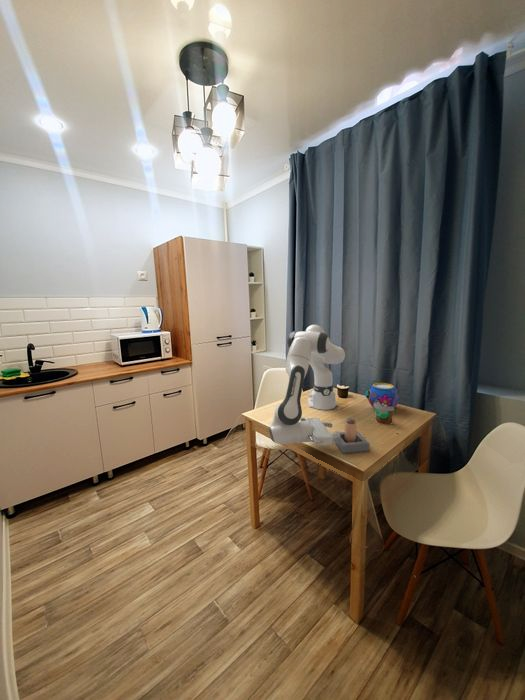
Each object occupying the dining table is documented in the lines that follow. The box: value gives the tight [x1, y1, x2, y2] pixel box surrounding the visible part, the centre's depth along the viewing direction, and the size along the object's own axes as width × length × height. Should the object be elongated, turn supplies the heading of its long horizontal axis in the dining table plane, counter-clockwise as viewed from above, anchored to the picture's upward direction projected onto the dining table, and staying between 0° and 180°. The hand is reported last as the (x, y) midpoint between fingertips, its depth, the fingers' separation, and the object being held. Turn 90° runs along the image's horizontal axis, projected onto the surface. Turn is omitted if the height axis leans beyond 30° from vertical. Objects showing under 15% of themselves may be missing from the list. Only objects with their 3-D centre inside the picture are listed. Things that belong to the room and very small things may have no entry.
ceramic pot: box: [365, 382, 400, 409], centre depth 166 cm, size 18×18×15 cm
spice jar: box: [344, 417, 357, 443], centre depth 125 cm, size 5×5×12 cm
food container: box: [373, 400, 395, 425], centre depth 149 cm, size 12×6×10 cm, turn 19°
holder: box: [333, 430, 370, 455], centre depth 126 cm, size 12×12×4 cm
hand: (335, 429), depth 124 cm, fingers open, 8 cm apart
